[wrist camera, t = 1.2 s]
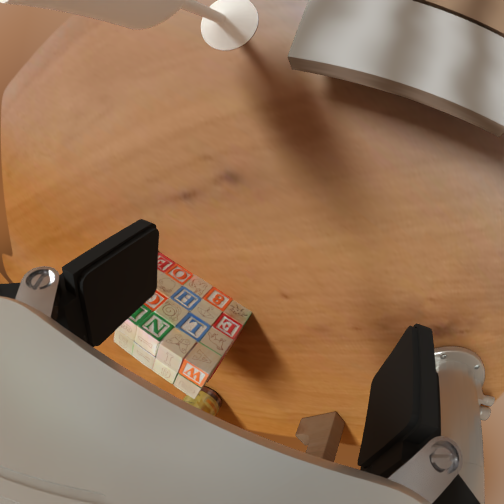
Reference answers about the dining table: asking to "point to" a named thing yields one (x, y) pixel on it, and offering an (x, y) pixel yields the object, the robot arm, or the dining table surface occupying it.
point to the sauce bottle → (205, 401)
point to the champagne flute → (166, 15)
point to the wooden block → (321, 434)
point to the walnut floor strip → (474, 12)
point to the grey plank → (406, 55)
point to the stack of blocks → (182, 328)
